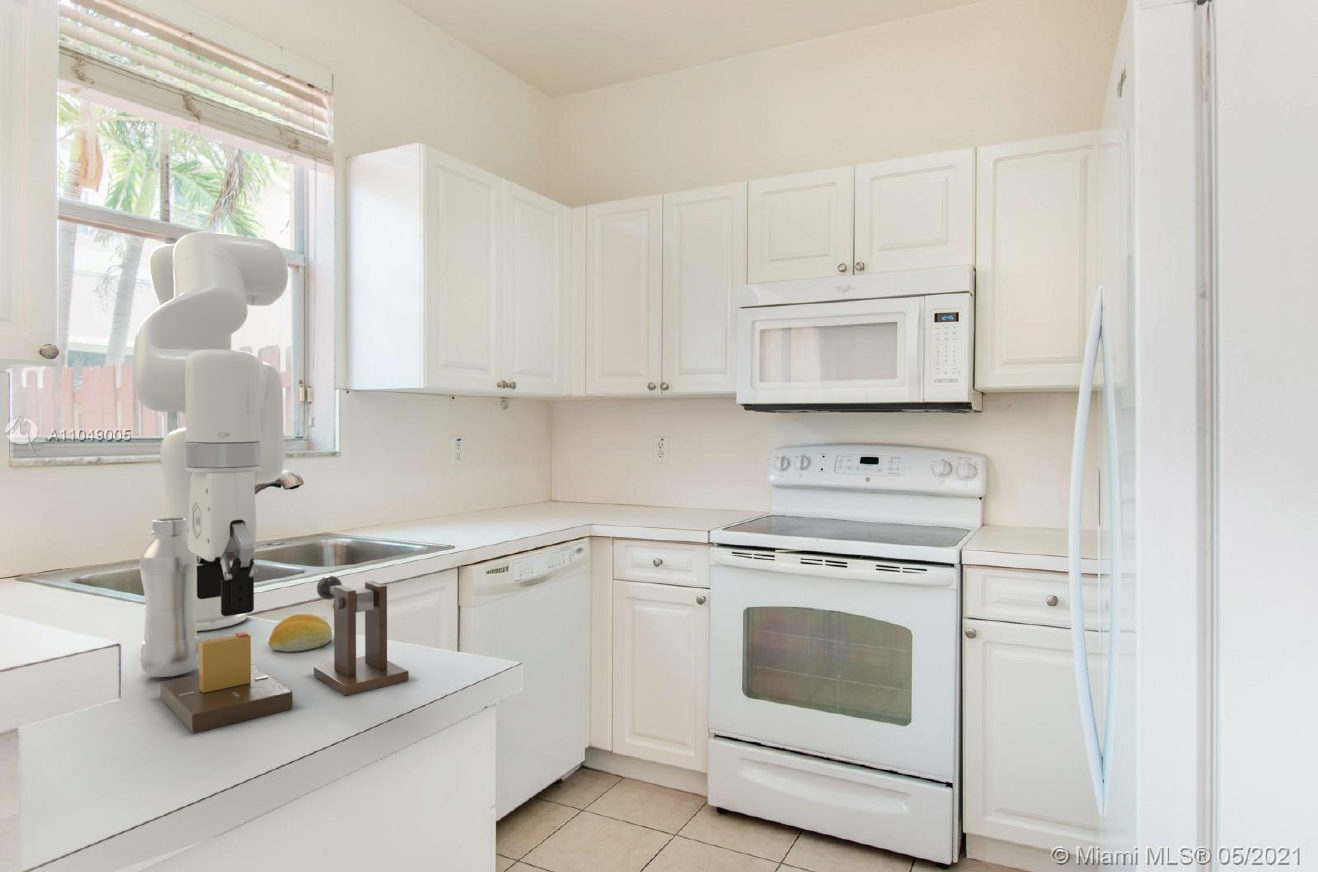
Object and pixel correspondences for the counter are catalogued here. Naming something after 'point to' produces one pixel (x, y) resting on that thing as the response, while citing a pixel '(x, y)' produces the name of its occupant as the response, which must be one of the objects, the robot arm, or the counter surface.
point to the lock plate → (225, 701)
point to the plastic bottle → (169, 601)
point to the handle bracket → (346, 668)
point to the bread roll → (300, 633)
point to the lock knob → (224, 662)
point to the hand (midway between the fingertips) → (224, 605)
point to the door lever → (362, 594)
